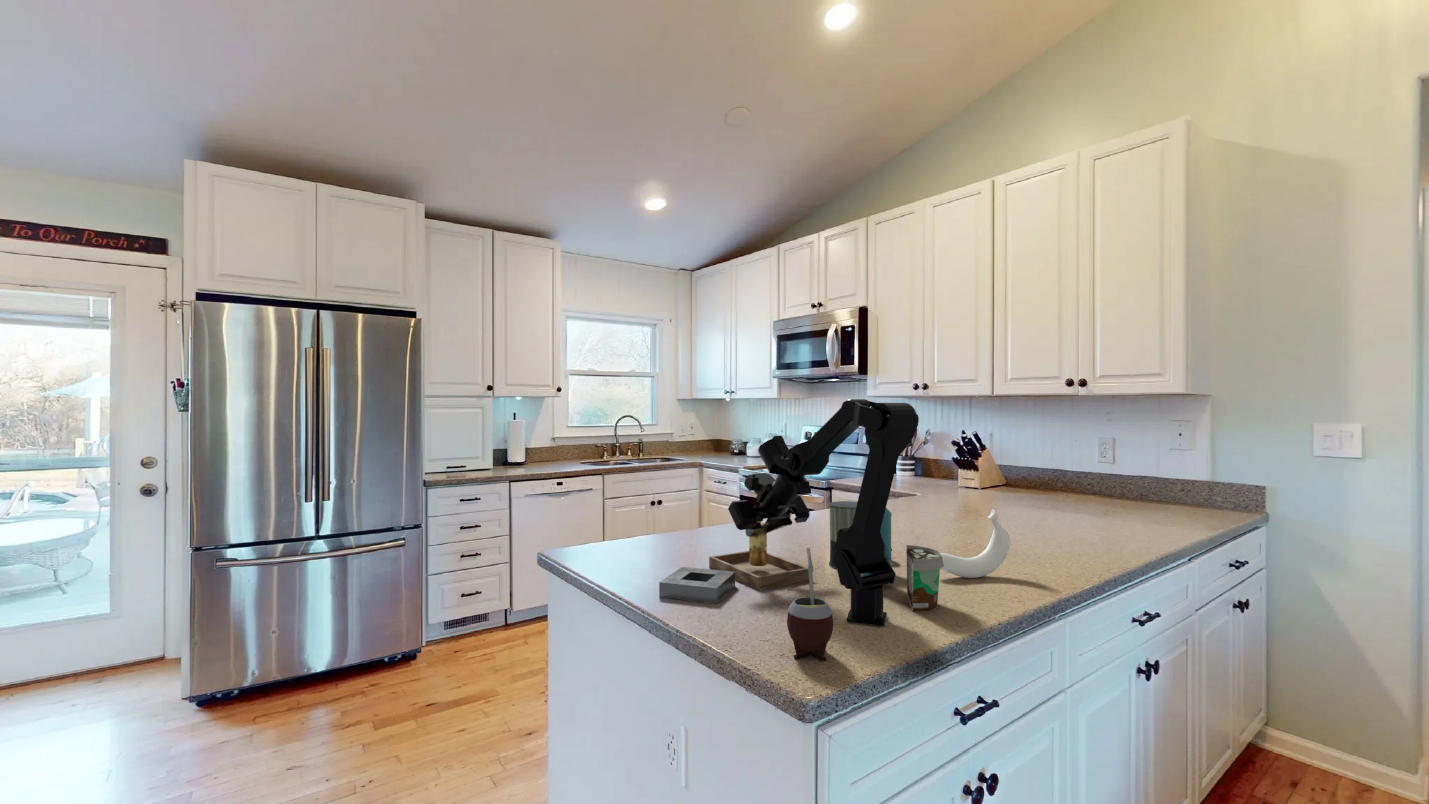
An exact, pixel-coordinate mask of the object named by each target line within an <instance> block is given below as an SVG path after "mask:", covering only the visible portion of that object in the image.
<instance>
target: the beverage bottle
mask: <svg viewBox="0 0 1429 804" xmlns="http://www.w3.org/2000/svg"><path fill="white" fill-rule="evenodd" d="M880 532H881V535H882V537H883V540H884V543H885V550H884V556H885V557H886V559H887V561H888V562H889V564H890V565H891V567H892V568H893V563H892V551H891V548H892V512H891V511H890V510H889V508H887V507H886V509H885V513H884V517H883V521H882V526H881V531H880ZM860 575H861V577H863V576H868V575H872V574H871V572H869V573H864V574H860Z"/></svg>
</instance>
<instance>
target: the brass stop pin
mask: <svg viewBox="0 0 1429 804" xmlns="http://www.w3.org/2000/svg"><path fill="white" fill-rule="evenodd" d="M761 525H762V527H763V528H762V529H761V530H759V531H757V532H756V533H754V534H752V535H750V536H748V538H749V539H748V543H749V544H748V548H749V550H748V551H749V564H750V565H752V566H765V565H767V553H768V533H767V524H766V523H765V522H761Z"/></svg>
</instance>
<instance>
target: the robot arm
mask: <svg viewBox="0 0 1429 804" xmlns="http://www.w3.org/2000/svg"><path fill="white" fill-rule="evenodd" d="M919 419H920V418H919V414H917V411H916V409H915V408H914V407H913V405H912V404H910V403H907V402H876V401H871V400H868V399H866V398H863V399H862V398H861V399H860V398H859V399H858V398H856V399H855V398H849V399H846V400H845V401H844V402H842V404H841V406H840V408H839V409H838V410H837V411H836V412H835V413H833V415H832V416H831V417H830V418H829V419H828V420H827V421H826V422H825V423H824V424H823V425H822V426H821V427H820V428H819V429H818V430H817V431H816V432H815V433H814V434H813V435H812V436H811V437H810V438H808V439H807V440H804V441H801V442H798V443H796V444H795V445H794V446H792V447H790V448H789V447H788V445H787V444H786V442H785V439H784V437H783V436H782V435H773V437H772V438H770V439H768V440H766V441H765V442H763V443H762V444H760V446H759V447H758V448H757V449H758V450H757V452H758V454H759V455H760V457H761V460H762V461H763V463H764V465H765V467H766V469H767V471H768V472H769V473H768V472H767V473H766V472H763V473H761V472H759V473H752V474H748V475H747V476H746V478H745V480H744V483H743V484H744V487H745V488H746V489H747V490H748V491H749V492H754V493H755V495H756V496H755V500H756V502H757V503H759V504H755V505H754V507H753V505H751V503H750V501H749V500H746V499H742V500H734V501H733V500H732V501H731V503H730V505H729V506H728V508H727V510H728V511H729V512H728V513H729V514H730V516H731V518H732V521H733V522H734V525H735V526H736V527H735V528H736V529H737V530H739V531H745V535H746V537H748V538H749V536H750V535H752V534H754V533H756V532H757V531H759V530H761V529H762V528H763V527H762V525H761V523H763V522H764V520H765V519H766V521H765V522H764V523H766V524H767V534H768V533H769V534H770V533H771V532H774V531H776V530H777V531H778V530H780V529H782V528H785V527H787V526H791V525H793V521H792V519H791V517H792V514H794V515H795V517H794V519H793V520H794V521H795V523H796V524H799V523H807V521H808V519H809V518H810V515H811V514H810V513H811V511H810V510H809V508H808V507H807V505H806V502H805V501H804V498H802V496H803V495H810V494H812V488H811V486H810V481H809V480H808V479H807V478H806V476H807V477H808V476H819V475H820V474H822V472H823V471H824V470H825V468H826V467H827V466H828V464H829V462H830V455H831V454H832V453H833V452H834V451H835V450H836V449H837V448H838V447H839V446H840V445H841V444H843V442H844V441H846V440H847V439H848V437H850V436H851V435H852V434H853V433H854V432H856V430H858V428H860V427H861V428H864V437H865V439H866V443H867V446H868V450H869V451H868V454H867V455H868V457H867V459H866V462H865V463H866V464H865V468H864V473H863V476H862V481H861V486H860V488H859V489H860V490H859V493H858V498H857V501H856V502H857V506H856V510H855V515H854V519H853V523H852V525H851V526H850V527H849V528H843V529H839V531H838V533H837V541H836V544H835V546H834V547H833V549H836V551H835V563H836V567H837V568H836V571H837V575H838V580H839V584H840V585H841V586H843V587H844V588H845V589H847V590H850V609H849V612H848V614H847V615H846V616H847V617H846V623H850V624H851V623H852V624H859V625H867V626H875V627H885V626H886V622H887V621H886V620H887V616H888V615H887V614H888V613H887V612H886V611H884V586H886V585H893V584H894V582H895V580H896V576H897V573H896V572H895V570H894V569H893V566H892V567H891V565H890V564H889V562H888V561H887V559H886V557H885V556H884V550H885V543H884V540H883V537H882V535H881V532H880V531H881V526H882V521H883V517H884V513H885V509H886V508H887V505H888V500H889V497H890V493H891V489H892V485H893V481H894V477H895V473H896V469H897V466H898V465H897V464H898V461H899V458H900V456H901V454H902V453H903V452H904V451H905V449H907V448H908V446H909V445H910V444H911V443H912V441H913V438H914V436H915V434H916V431H917V428H918V426H919V422H920V420H919ZM771 474H772V475H777V476H776V478H774V477H773V476H772V475H771ZM869 572H871V574H872V575H868V576H863V577H862V576H861V574H864V573H869Z"/></svg>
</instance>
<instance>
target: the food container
mask: <svg viewBox="0 0 1429 804" xmlns="http://www.w3.org/2000/svg"><path fill="white" fill-rule="evenodd" d="M905 550H906V553H905V554H906V597H907V600H908V602H909V605H910V609H911V611H912V612H913V613H924V612H925V613H926V612H927V613H928V612H931V610H932V611H935V610H937V608H938V600H939V599H938V598H939V589H940V587H939V586H940V574H941V569H940V568H942V567H943V566H944V563H943V559H942V556H941V554H940V553H941V552H940V551H938V550H937V549H935V548H930V547H925V546H922V545H912V544H907V545H906V549H905Z"/></svg>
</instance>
